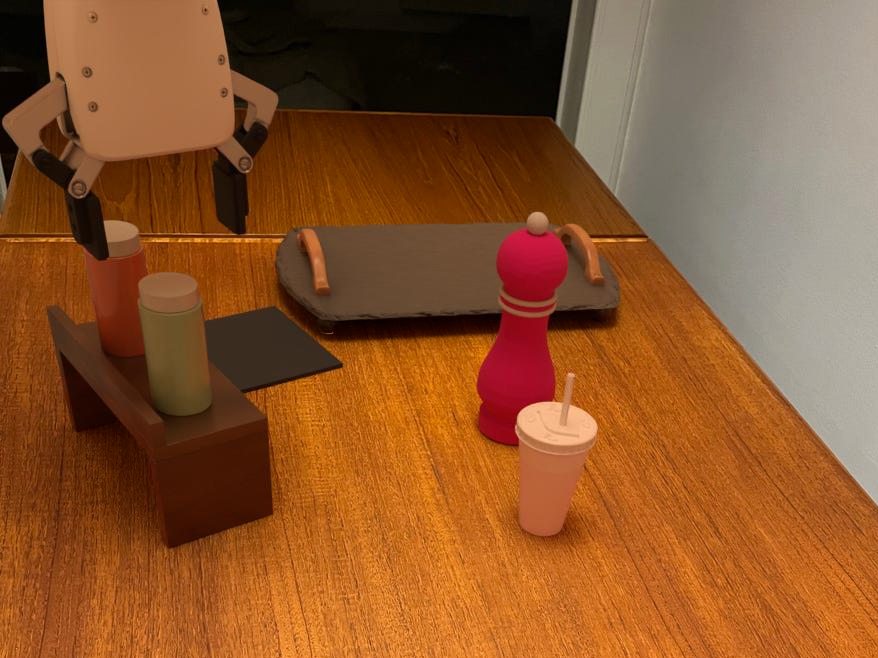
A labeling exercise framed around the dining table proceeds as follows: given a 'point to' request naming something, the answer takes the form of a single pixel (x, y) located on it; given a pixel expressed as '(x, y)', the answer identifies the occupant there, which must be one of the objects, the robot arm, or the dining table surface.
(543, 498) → the smoothie
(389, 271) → the serving tray
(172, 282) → the green shaker
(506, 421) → the pepper mill
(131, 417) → the spice shelf
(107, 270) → the terracotta shaker
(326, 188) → the dining table surface
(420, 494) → the dining table surface
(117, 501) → the dining table surface
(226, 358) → the mat
